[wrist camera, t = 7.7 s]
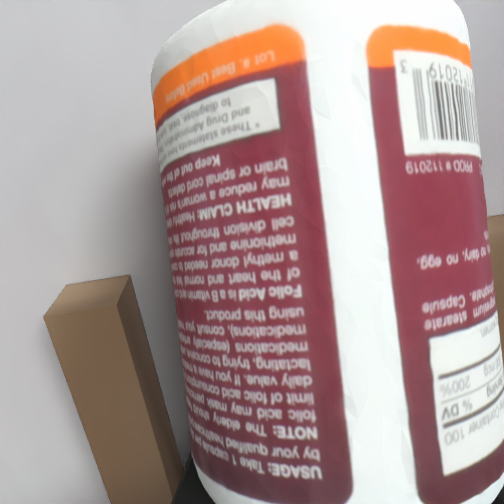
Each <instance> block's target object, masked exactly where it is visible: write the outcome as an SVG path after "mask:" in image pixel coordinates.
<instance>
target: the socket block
mask: <svg viewBox="0 0 504 504" xmlns="http://www.w3.org/2000/svg"><path fill="white" fill-rule="evenodd" d="M487 225H488V234H489V246H490V257H491V263H492V270H493V280H494V290H495V298H496V306H497V314H498V325H499V334H500V342H501V351H502V360H503V369H504V214H503V215H497V216H491V217H487ZM43 317H44V320H45V323H46V326H47V328H48V331H49V334H50V337H51V339H52V342H53V345H54V348H55V350H56V353H57V356H58V359H59V361H60V364H61V367H62V370H63V372H64V375H65V378H66V381H67V383H68V386H69V389H70V392H71V394H72V397H73V400H74V403H75V405H76V408H77V411H78V414H79V416H80V419H81V422H82V425H83V427H84V430H85V433H86V436H87V438H88V441H89V444H90V447H91V449H92V452H93V455H94V458H95V460H96V463H97V466H98V469H99V471H100V474H101V477H102V480H103V482H104V485H105V488H106V491H107V493H108V496H109V499H110V502H111V504H171V502H172V500H173V498H174V495H175V493H176V490H177V488H178V485H179V483H180V480H181V478H182V475H183V473H184V472H183V469H182V465H181V461H180V458H179V454H178V450H177V447H176V443H175V439H174V435H173V432H172V428H171V424H170V421H169V417H168V413H167V410H166V406H165V402H164V399H163V395H162V391H161V388H160V384H159V380H158V376H157V373H156V369H155V365H154V362H153V358H152V354H151V351H150V347H149V343H148V340H147V336H146V332H145V329H144V325H143V321H142V318H141V314H140V310H139V306H138V303H137V299H136V295H135V292H134V288H133V284H132V281H131V277H130V275H125V276H119V277H113V278H107V279H100V280H94V281H88V282H82V283H76V284H69V285H66V286H65V288H64V289H63V290H62V292H61V293H60V295H59V296H58V297H57V299H56V300H55V301H54V303H53V304H52V305H51V307H50V308H49V310H48V311H47V312H46V314H45V315H44V316H43Z"/></svg>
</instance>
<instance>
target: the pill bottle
mask: <svg viewBox="0 0 504 504" xmlns="http://www.w3.org/2000/svg"><path fill="white" fill-rule="evenodd" d="M151 91H152V99H153V104H154V119H155V127H156V138H157V148H158V158H159V167H160V174H161V182H162V192H163V196H164V205H165V216H166V224H167V235H168V243H169V252H170V262H171V271H172V279H173V286H174V294H175V301H176V314H177V324H178V331H179V341H180V350H181V358H182V367H183V375H184V382H185V395H186V401H187V412H188V420H189V429H190V439H191V453H192V457H193V460H194V464H195V467H196V470H197V473H198V476H199V478H200V480H201V482H202V484H203V486H204V488H205V490H206V491H207V492H208V494H209V495H210V497H211V498H212V499H213V501H214V502H215V503H216V504H491V503H492V502H493V501H494V500H495V498H496V497H497V495H498V494H499V492H500V490H501V489H502V487H503V485H504V369H503V360H502V351H501V342H500V334H499V325H498V314H497V306H496V298H495V290H494V280H493V270H492V263H491V257H490V246H489V234H488V225H487V209H486V200H485V194H484V184H483V177H482V170H481V165H482V158H481V153H480V143H479V134H478V125H477V110H476V103H475V89H474V80H473V74H472V67H471V57H470V42H469V35H468V29H467V26H466V22H465V19H464V16H463V13H462V12H461V10H460V8H459V7H458V6H457V5H456V3H455V2H454V1H453V0H227V1H225V2H223V3H221V4H219V5H217V6H215V7H213V8H211V9H209V10H207V11H205V12H204V13H202V14H200V15H198V16H197V17H196V18H194V19H193V20H191V21H190V22H188V23H187V24H186V25H184V26H183V27H182V28H181V29H180V30H178V31H177V32H176V33H175V34H174V35H172V36H171V37H170V38H169V39H168V40H167V42H166V43H165V44H164V46H163V47H162V49H161V50H160V52H159V54H158V55H157V57H156V59H155V61H154V64H153V68H152V73H151Z"/></svg>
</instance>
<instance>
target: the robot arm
mask: <svg viewBox="0 0 504 504" xmlns="http://www.w3.org/2000/svg"><path fill="white" fill-rule="evenodd" d="M171 504H216V503H215V502H214V501H213V499H212V498H211V497H210V495H209V494H208V492H207V491H206V490H205V488H204V486H203V484H202V482H201V480H200V478H199V476H198V473H197V470H196V467H195V464H194V460H193V457H192V453H190V456H189V459H188V462H187V464H186V467H185V470H184V473H183V475H182V478H181V480H180V483H179V485H178V488H177V490H176V493H175V495H174V498H173V500H172V502H171ZM491 504H504V485H503V487H502V489H501V490H500V492H499V494H498V495H497V497H496V498H495V500H494V501H493V502H492V503H491Z"/></svg>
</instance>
